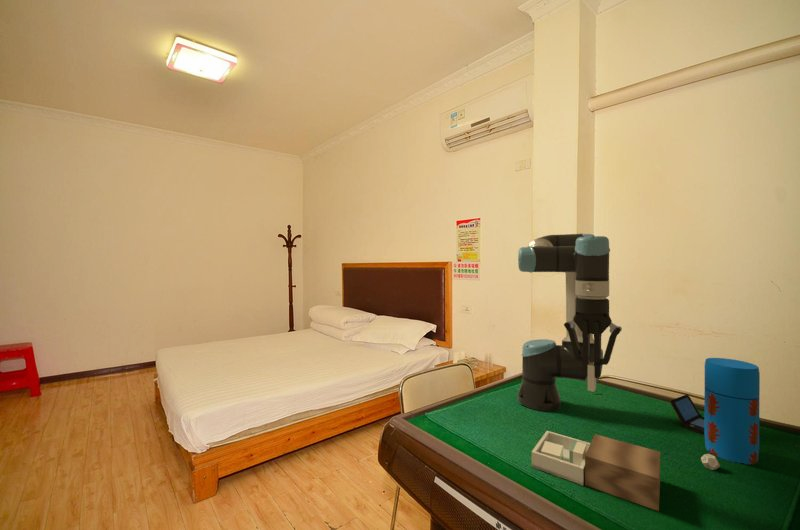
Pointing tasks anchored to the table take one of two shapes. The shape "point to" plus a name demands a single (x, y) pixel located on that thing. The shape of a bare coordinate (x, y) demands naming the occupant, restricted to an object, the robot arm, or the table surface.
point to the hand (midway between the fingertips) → (591, 389)
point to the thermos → (732, 409)
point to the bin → (556, 465)
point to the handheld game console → (688, 413)
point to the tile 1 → (552, 450)
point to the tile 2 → (577, 453)
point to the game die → (710, 461)
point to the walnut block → (624, 470)
